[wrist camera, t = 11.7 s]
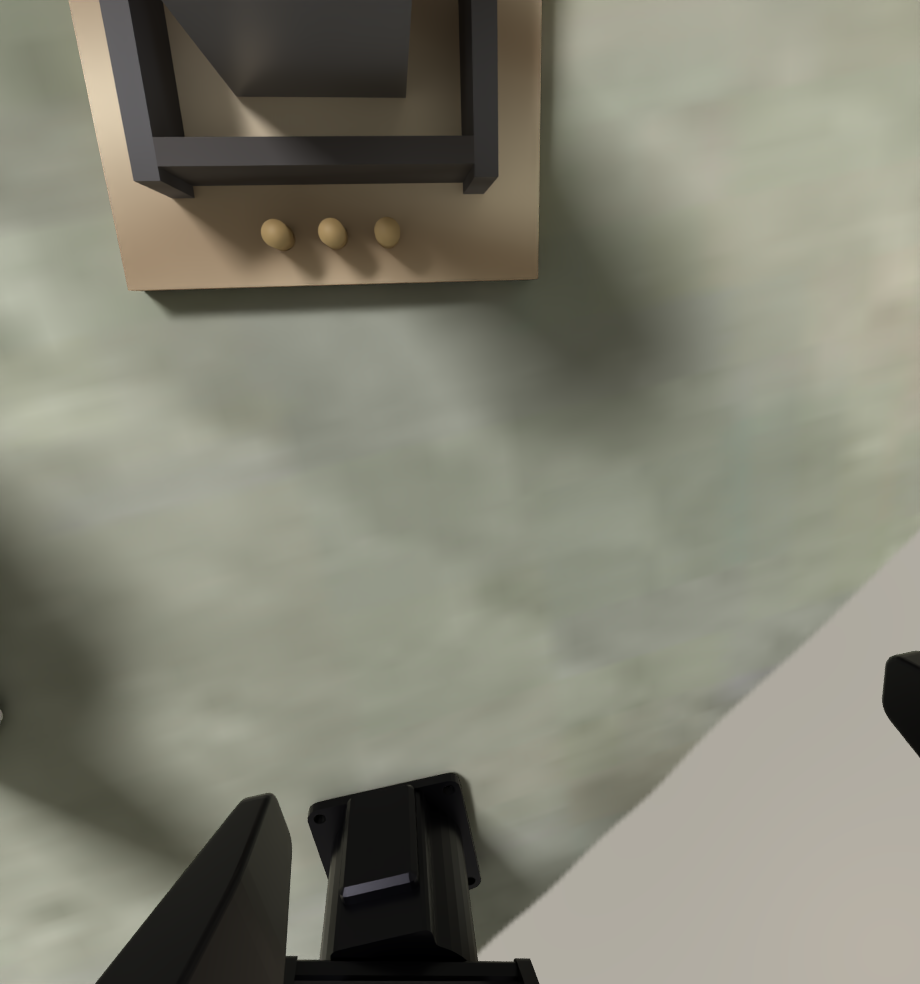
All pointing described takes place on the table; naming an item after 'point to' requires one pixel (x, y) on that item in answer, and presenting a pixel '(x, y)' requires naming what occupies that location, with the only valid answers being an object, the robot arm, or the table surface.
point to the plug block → (303, 45)
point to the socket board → (319, 157)
